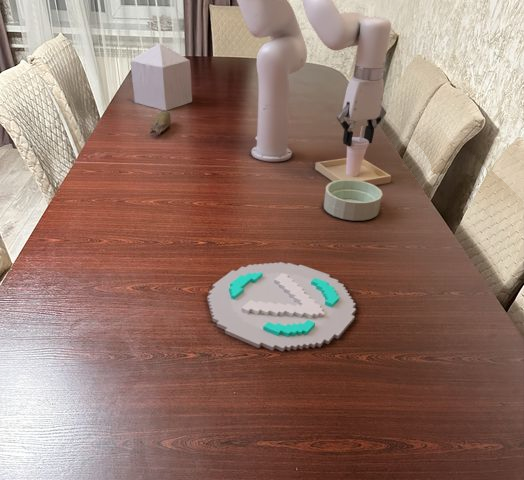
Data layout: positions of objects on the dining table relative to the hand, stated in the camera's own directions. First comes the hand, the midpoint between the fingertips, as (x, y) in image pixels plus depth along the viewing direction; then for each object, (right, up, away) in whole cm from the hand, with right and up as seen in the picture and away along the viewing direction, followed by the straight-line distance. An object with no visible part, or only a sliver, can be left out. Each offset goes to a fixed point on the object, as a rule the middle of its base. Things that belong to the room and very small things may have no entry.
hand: (357, 142), depth 148 cm
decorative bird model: (-61, +16, +29) cm, 70 cm away
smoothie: (0, -7, +6) cm, 9 cm away
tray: (0, -7, +6) cm, 10 cm away
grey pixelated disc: (-23, -50, -45) cm, 71 cm away
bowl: (-4, -22, -11) cm, 25 cm away
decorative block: (-65, +38, +55) cm, 93 cm away
